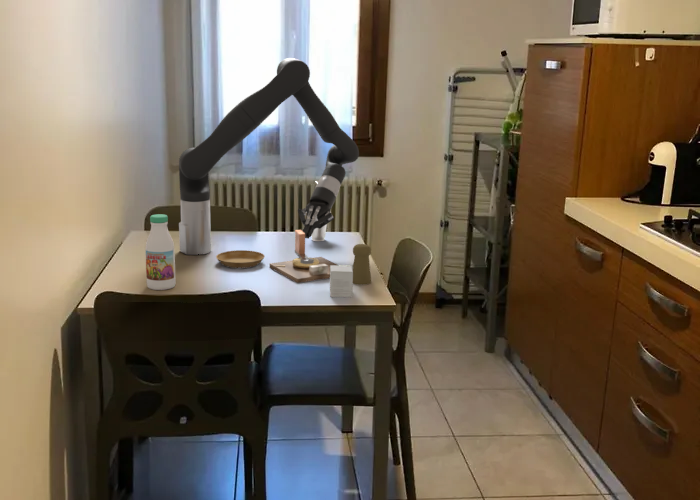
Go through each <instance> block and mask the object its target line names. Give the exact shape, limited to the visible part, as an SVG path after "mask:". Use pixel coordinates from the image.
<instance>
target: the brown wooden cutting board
mask: <svg viewBox="0 0 700 500" xmlns="http://www.w3.org/2000/svg"><path fill="white" fill-rule="evenodd" d="M314 258H315V259H318V260H319V265H312V266H309V268H297V267H294V266H293V265H292V261H293V259H292V260H286V261H278V262H272V263H271V262H270V263H269V268H270V269H272V270H274V271H275V272H277V273H278V274H281V275H283V276H284V277H286V278H288V279H290V280H292V281H293V282H295V283H297V284H301V283H305V282H311V281H312V282H314V281H320V280H325V279H330V266H331V265H338V264H337V263H336V262H334V261H331V260H329V259H326V258H325V257H323V256H318V257H317V256H316V257H315V256H314Z"/></svg>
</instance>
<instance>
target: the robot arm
mask: <svg viewBox="0 0 700 500" xmlns="http://www.w3.org/2000/svg"><path fill="white" fill-rule="evenodd" d="M310 70H311V69H310V67H309V66H308V64H307V63H306V62H305V61H303V60H301V59H298V58H294V57H288V58H284V59H282V60H280V62H279V63H278V65H277V68H276V75H275V76H274V77H273V78H272V79H271V80H270V81H269V82H268V83H267V84H266V85H265V86H264V87H262V88H261V89H259V90H257V91H255V92H253V93H251V94H250V95H249V96H247V97H245V98H244V99H242V100H241V101H240V102H238V103H237V104H236V105H235V106H234V107H233V108H232V109H231V110H230V111H229V112H228V113H227V114H226V115H225V116H224V117H223V118H222V119H221V121H220V122H219V124H217V126H216V127H215V129H214V130H213V132H212V133H210V134H209V136H207V138H205V140H203V141H202V142H201V143H200V144H198V145H197V146H196V147H190V148H187V149H185V150H184V151H182V153H181V154H180V156H179V158H178V159H179V160H178V177H179V178H178V179H179V195H180V199H179V200H180V222H178V234H179V235H178V237H179V251H180V252H181V253H183V254H184V255H186V256H188V255H192V256H194V255H198V254H199V255H206V254H209V253H211V252H212V241H211V239H212V237H211V232H212V230H211V192H210V175H209V173H210V171H211V170H212V169H213V168H214V166H216V164H218V162H219V161H220V160H221V159H222V158H223V157H224V156H225V155H226V154H227V153H228V152H230V151H231V150H232V149H233V148H234V147H236V146H238V144H240V143H241V142H242V141H243V140H245V139H246V138H247V137H248V136H249V135H251V133H253V132H254V131H255V130H256V129H257V128H258V127H259V126H260V125H262V123H263V122H264V121H266V119H267V118H269V117H270V116H271V114H272V113H273V112H274V111H275V110H276V109H277V108H278V107H279V106H280V105H281V104H282V103H284V102H285V101H286V100H288V99H289V98H291V96H293V97H294V99H295V100H296V102H298V103H299V105H300V107H301V108H302V110H303V111H304V112H305V115H306V116H307V118H308V119H309V121H310V123H311V124H312V126H313V127H314V129H315V131H316V132H317V134H318V135H319V136H320V138H321V139H322V141H323V142H324V143H327V144H332V146H331V147H330V148H329V150H328V152H327V155H326V161H325V167H324V170H323V172H322V173H321V177H320V178H319V179H318V180H317V181H318V183H317V184H316V185H315V187H314V189H313V191H312V194H311V195H310V196H311V197H310V198H309V202H308V204H306V206H305V208H298V209H297V212H298V215H299V218H300V222H301V224H302V225H303V228H302V231H303V232H304V233H305V239H310V238H312V236H311V235H312V233H313V231H314V229H316V228H319V229H320V228H322V227H323V226H325V225H326V224H327V225H328V224H329V223H331V222H332V221H333V220H335V217H334V216H333V214H332V212H331V213H330V210H331V209H332V207H333V205H334V204H335V202H336V199H337V196H338V195H339V192H340V188H341V185H342V184H343V181H344V180H345V176H346V169H345V168H344V166H343V165H345V164H352V163H354V162H356V161H357V160H358V159H359V157H360V150H359V147H358V145H357V143H356V142H355V141H354V140H353V139H352V138H351V137H350V136H349V135H348V134H347V133H346V132H345V131H344V130H343V129H342V128H341V127H340V125H339V124H338V122H337V121H336V119H335V117H334V116H333V114H332V113H331V112H330V110H329V109H328V107H326V105H325V104H324V103H323V102H322V100H321V99H320V98H319V96H318V95H317V94H316V91H314V89H313V88H312V86H311V84H310V82H309V80H310V75H311V72H310ZM320 223H321V224H320Z"/></svg>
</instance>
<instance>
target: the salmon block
mask: <svg viewBox="0 0 700 500" xmlns="http://www.w3.org/2000/svg"><path fill="white" fill-rule="evenodd" d="M294 233H295V234H294V235H295V237H294V253H295V255H297V257H296V258H294V259H292V260H293V261H292V260H291V261H292V265H293V266H294V267H297V268H309V266H312V265H319V260H318V259H315V257H309V256H307V254H306V238H305V233H304V232H303V229H295V232H294Z"/></svg>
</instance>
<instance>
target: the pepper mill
mask: <svg viewBox="0 0 700 500" xmlns="http://www.w3.org/2000/svg"><path fill="white" fill-rule="evenodd" d="M352 253H353V256H354V258H353V264H352V270H353V285H359V286H362V285H370V284H371V283H372V275H371V274H372V273H371V266H370V256H371V253H372V249H371V246H370V245H369V244H365V243H357V244H355V245H354V246H353V248H352Z"/></svg>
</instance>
